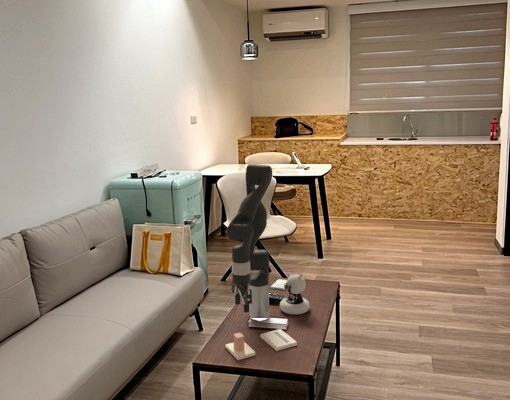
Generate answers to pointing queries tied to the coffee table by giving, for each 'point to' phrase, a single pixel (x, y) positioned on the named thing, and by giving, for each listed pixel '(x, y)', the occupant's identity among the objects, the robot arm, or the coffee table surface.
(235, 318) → the coffee table surface
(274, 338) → the board
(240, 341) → the block on cream base
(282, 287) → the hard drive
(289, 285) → the decorative figurine
